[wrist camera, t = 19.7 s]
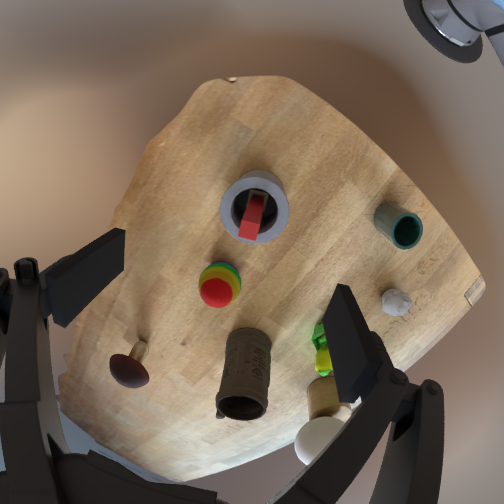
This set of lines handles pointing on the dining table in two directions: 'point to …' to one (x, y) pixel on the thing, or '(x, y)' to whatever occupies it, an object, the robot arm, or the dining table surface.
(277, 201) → the vase
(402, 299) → the grey wrinkled ball
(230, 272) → the decorative egg
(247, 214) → the paint brush
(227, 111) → the dining table surface
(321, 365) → the fruit basket
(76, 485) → the robot arm
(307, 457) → the lamp
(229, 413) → the dark grey hollow cylinder
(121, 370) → the decorative mushroom
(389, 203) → the pen pot
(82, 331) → the dining table surface
